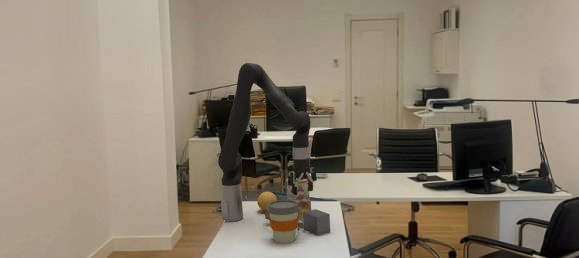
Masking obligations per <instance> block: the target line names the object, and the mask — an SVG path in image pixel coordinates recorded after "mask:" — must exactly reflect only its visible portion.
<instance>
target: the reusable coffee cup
mask: <svg viewBox="0 0 579 258" xmlns="http://www.w3.org/2000/svg"><path fill="white" fill-rule="evenodd" d="M298 211H299V207H298V203H297V202H296V201H292V200H287V199H279V200H278V199H277V201H274V202H271V203H270V204H269V209H268V212H269V213H270V218H269V219H270V220H269V223H270V224H269V225H270V229H271V230H272V235H273V240H275V242H276V243H278V242H280V243H279V244H288V243H292V241H293V242H294V241H296V237H297V229H298V226H299V220H298Z"/></svg>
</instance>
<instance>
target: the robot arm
mask: <svg viewBox="0 0 579 258" xmlns="http://www.w3.org/2000/svg"><path fill="white" fill-rule="evenodd" d="M237 76H238V77H237V82H236V89H235V94H234V98H233V103H232V107H231V110H230V116H229V118H228V123H227V128H226V133H225V138H224V141H223V145H222V147H221V150H220V153H219V156H218V159H217V162H218V163H217V164H218V166H219V169H221V170H222V171H223V173H222V177H221V192H222V193H221V196H222V197H221V198H222V199H221V200H220V203H221V204H220V205H221V206H220V208H221V220H223V221H225V222H227V223H230V222H238V221H242V220H243V219H244V209H243V207H244V206H243V191H242V176H243V159H242V156H241V153H240V152H239V147H240V144H241V142H242V139H244V136H245V133H246V132H247V129H248V127H249V124H250V121H251V115H252V105H251V104H252V103H251V92H252V89H253V85H255V86H257V87H259V88H260V89H261V90H262V91H263V92H264V93H265V95H266V96H267V98H268V100H269V101H270V103H271V105H273V106H274V107H275V108H276V110H278V112H280V113H281V114H282V115H283V117H284V119H285V121H286V122H287V124H288V125H289V126H291V128H294V129H295V133H293V136H292V167H293V171H288V172H287V179H288V185H290V186H292V193H293V194H294V195H297V187H296V186H297V184H298V183H299V182H300V180H303V179H307V180H308V182H309V183H308V190H309V192H313V190H314V183H315V182H317V179H318V178H317V170H316V167H312V166H311V152H310V151H311V150H310V143H309V134H310V128H311V117H310V114H309V113H308V112H307V111H304V110H301V111H297V109H295V103H294V102H293V101H292V100H291V99H290V98H289V97H288V95H286V94H285V92H283V91H282V90H281V89H280V88H279V87H278V86H277V85H276V84H275V82H274V81H273V80H272V79H271V77H270V76H269V75H268V74H267V72H266V71H265V69H264V68H263V67H262V66H261V65H260V64H258V63H253V62H245V63H244V64H242V65H241V66H240V68H239V71H238V75H237ZM296 179H297V180H296Z"/></svg>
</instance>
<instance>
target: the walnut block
mask: <svg viewBox="0 0 579 258" xmlns="http://www.w3.org/2000/svg"><path fill="white" fill-rule="evenodd" d="M293 201H296V202H297V203H298V207H301V208H304V209H307V210H310V211H311V210H312V201H311V200H307V199H302V200H298V199H297V200H293ZM268 209H269V207H267V208H265V211H264V213H265V214H264V216H265V217H264V218H265V220H267V221H270V219H269V218H270V213H269V212H268Z"/></svg>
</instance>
